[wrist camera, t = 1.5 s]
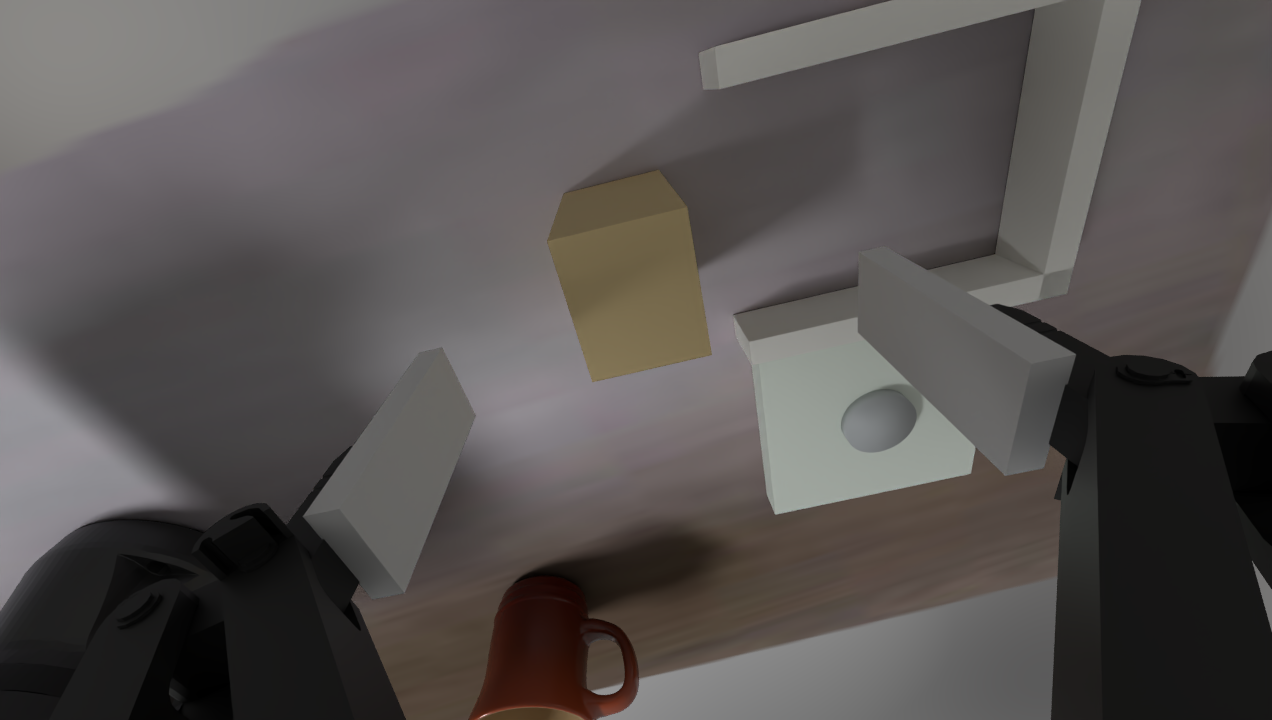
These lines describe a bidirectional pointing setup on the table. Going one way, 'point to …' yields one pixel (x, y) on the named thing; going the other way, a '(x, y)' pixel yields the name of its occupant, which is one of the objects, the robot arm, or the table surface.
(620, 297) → the chute block
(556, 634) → the mug
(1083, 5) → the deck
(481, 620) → the table surface
